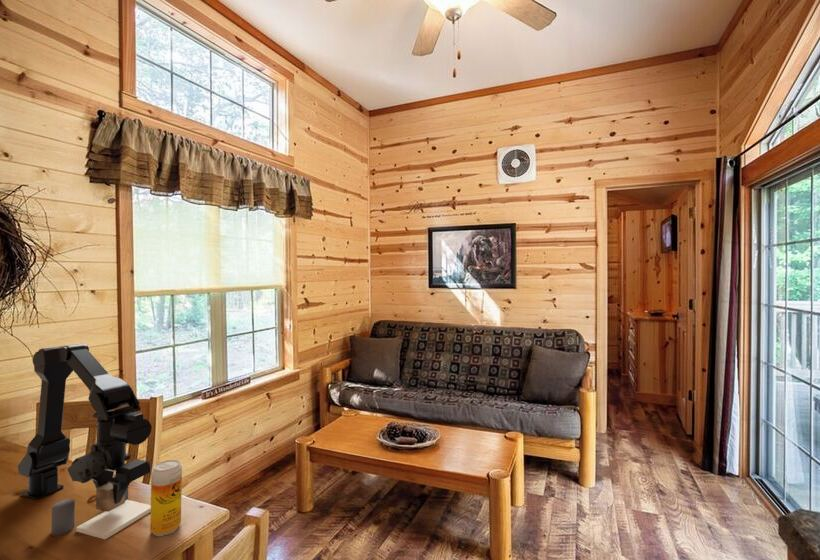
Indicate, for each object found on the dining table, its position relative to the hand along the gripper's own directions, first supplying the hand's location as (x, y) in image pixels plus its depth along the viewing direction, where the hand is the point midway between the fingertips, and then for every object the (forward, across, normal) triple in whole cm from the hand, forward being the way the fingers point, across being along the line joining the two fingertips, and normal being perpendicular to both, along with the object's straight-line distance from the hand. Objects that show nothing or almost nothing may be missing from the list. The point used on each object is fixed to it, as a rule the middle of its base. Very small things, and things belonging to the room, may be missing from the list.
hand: (110, 501), depth 96 cm
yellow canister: (+4, +16, +1) cm, 17 cm away
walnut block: (+1, 0, 0) cm, 1 cm away
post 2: (+4, -6, +6) cm, 10 cm away
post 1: (+4, -6, -6) cm, 10 cm away
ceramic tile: (+4, +2, 0) cm, 5 cm away
